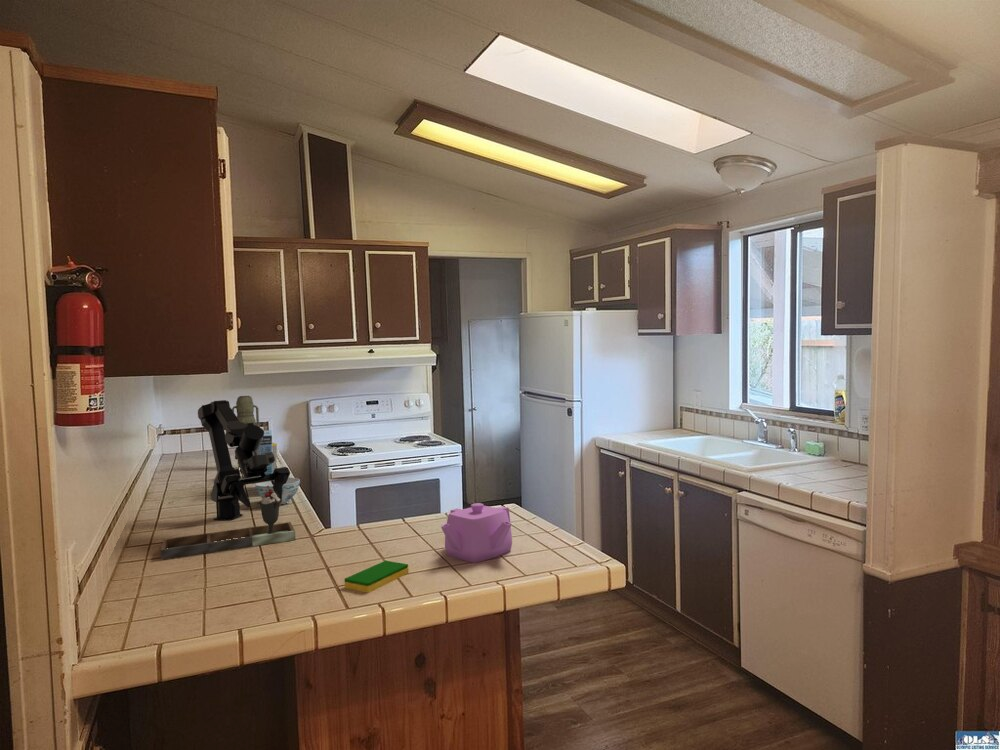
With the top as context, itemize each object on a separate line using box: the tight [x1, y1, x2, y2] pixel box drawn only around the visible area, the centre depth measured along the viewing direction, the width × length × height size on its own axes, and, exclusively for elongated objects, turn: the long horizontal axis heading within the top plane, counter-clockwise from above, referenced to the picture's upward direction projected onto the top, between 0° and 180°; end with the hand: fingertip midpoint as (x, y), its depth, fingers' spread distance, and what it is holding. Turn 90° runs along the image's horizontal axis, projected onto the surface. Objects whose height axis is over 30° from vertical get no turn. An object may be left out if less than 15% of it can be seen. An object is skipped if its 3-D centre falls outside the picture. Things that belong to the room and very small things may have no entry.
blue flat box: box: [259, 429, 273, 475], centre depth 248 cm, size 20×5×23 cm, turn 20°
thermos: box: [231, 395, 260, 467], centre depth 304 cm, size 9×12×35 cm
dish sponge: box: [344, 560, 410, 594], centre depth 142 cm, size 7×14×2 cm, turn 149°
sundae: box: [257, 486, 282, 534], centre depth 180 cm, size 7×7×15 cm
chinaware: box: [254, 477, 301, 506], centre depth 225 cm, size 15×15×8 cm
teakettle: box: [440, 502, 513, 564], centre depth 159 cm, size 17×17×12 cm
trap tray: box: [160, 521, 296, 560], centre depth 176 cm, size 33×12×2 cm, turn 114°
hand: (265, 503), depth 182 cm, fingers open, 9 cm apart
